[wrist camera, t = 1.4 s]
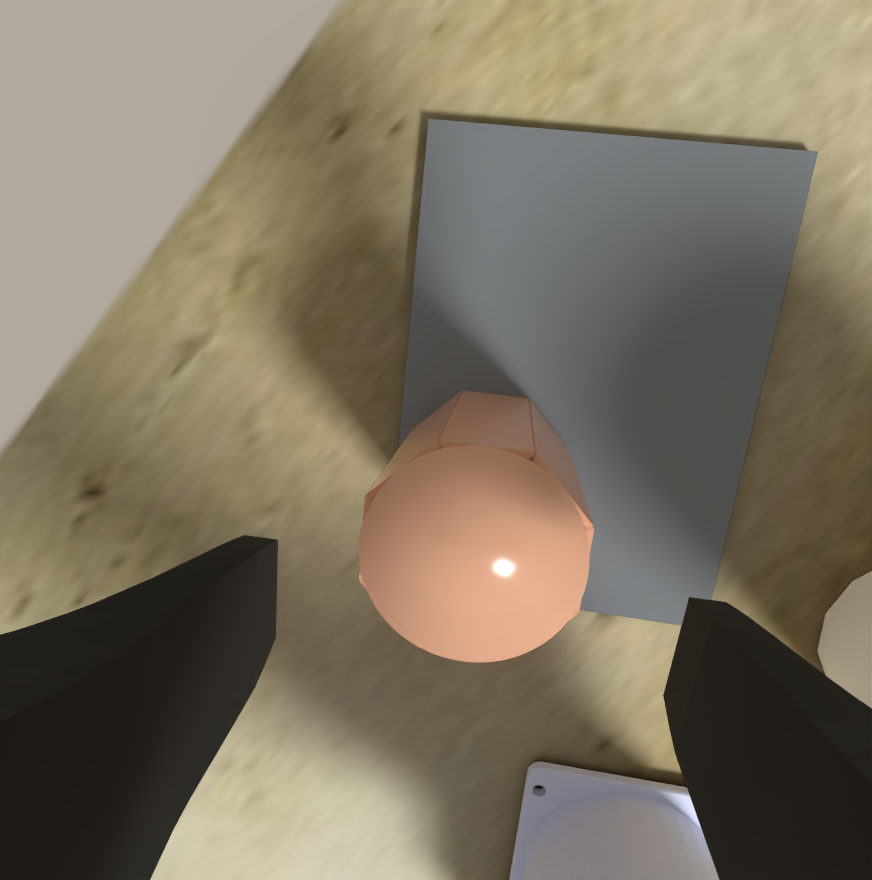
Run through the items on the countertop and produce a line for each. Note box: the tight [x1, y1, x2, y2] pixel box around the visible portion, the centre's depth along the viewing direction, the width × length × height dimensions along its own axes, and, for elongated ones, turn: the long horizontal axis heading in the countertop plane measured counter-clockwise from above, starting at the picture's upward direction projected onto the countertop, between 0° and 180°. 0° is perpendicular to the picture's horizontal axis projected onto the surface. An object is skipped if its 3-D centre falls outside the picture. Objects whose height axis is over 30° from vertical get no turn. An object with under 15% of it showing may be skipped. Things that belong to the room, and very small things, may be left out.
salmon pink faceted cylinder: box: [359, 390, 594, 662], centre depth 18 cm, size 5×5×7 cm
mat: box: [398, 119, 818, 625], centre depth 20 cm, size 15×11×1 cm
